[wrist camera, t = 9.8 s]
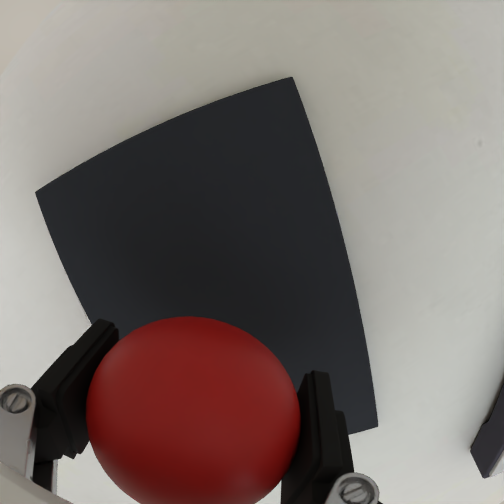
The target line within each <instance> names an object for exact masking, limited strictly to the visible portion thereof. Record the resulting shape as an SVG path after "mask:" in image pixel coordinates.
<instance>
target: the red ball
mask: <svg viewBox="0 0 504 504" xmlns="http://www.w3.org/2000/svg"><path fill="white" fill-rule="evenodd" d="M86 424H87V430H88V436H89V440H90V443H91V445H92V448H93V450H94V453H95V456H96V458H97V459H98V461H99V463H100V464H101V466H102V468H103V469H104V471H105V472H106V474H107V475H108V476H109V477H110V478H111V480H112V481H113V482H114V483H115V484H116V485H117V486H118V487H119V488H120V489H121V490H122V491H123V492H125V493H126V494H127V495H129V496H130V497H131V498H133V499H134V500H136V501H137V502H139V503H140V504H255V503H256V502H258V501H259V500H261V499H262V498H264V497H265V496H266V495H267V494H269V493H270V492H271V491H272V490H273V489H274V488H275V487H276V486H277V485H278V484H279V482H280V481H281V480H282V478H283V477H284V475H285V474H286V473H287V471H288V470H289V468H290V465H291V463H292V461H293V459H294V457H295V454H296V452H297V448H298V444H299V439H300V433H301V413H300V406H299V401H298V397H297V394H296V391H295V388H294V385H293V383H292V381H291V379H290V376H289V375H288V373H287V372H286V370H285V368H284V367H283V365H282V364H281V362H280V361H279V360H278V358H277V357H276V356H275V355H274V354H273V353H272V352H271V351H270V350H269V349H268V348H267V347H266V346H265V345H264V344H262V343H261V342H260V341H259V340H258V339H256V338H255V337H253V336H252V335H250V334H249V333H247V332H245V331H243V330H241V329H240V328H238V327H235V326H233V325H230V324H228V323H225V322H221V321H218V320H215V319H209V318H204V317H193V316H185V317H173V318H167V319H161V320H158V321H155V322H151V323H149V324H146V325H144V326H142V327H140V328H138V329H136V330H134V331H132V332H131V333H129V334H128V335H127V336H125V337H124V338H122V339H121V340H120V341H118V342H117V343H116V344H115V345H114V346H113V347H112V349H111V350H110V351H109V352H108V353H107V354H106V355H105V356H104V358H103V359H102V361H101V362H100V364H99V366H98V367H97V369H96V371H95V373H94V375H93V378H92V380H91V383H90V386H89V390H88V395H87V400H86Z"/></svg>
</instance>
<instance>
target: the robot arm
mask: <svg viewBox="0 0 504 504" xmlns="http://www.w3.org/2000/svg"><path fill="white" fill-rule="evenodd" d="M118 341H119V330H118V328H116V327H115V324H114V323H113V322H110V321H107V320H104V319H101V318H99V319H98V320H96V321H95V323H94V324H93V325H92V326H91V327H90V328H89V329H88V330H87V331H86V332H85V333H84V334H83V335H82V336H81V337H80V338H79V339H78V340H77V342H76V343H75V344H74V345H72V346H69V347H68V348H67V349H66V350H65V351H64V352H63V353H62V354H61V356H60V357H59V358H58V359H57V360H56V361H55V362H54V363H53V364H52V365H51V366H50V368H49V369H48V370H47V371H46V372H45V373H44V374H43V375H42V376H41V377H40V379H39V380H38V381H37V382H36V383H35V384H34V385H33V386H32V388H31V389H30V388H28V387H27V386H24V385H21V384H12V385H8V386H6V387H4V388H2V389H1V390H0V504H73V503H71V502H69V501H67V500H65V499H63V498H61V497H59V496H57V467H58V459H61V457H62V456H63V455H65V456H67V457H69V458H72V459H74V458H75V456H76V454H77V453H78V454H81V453H82V452H83V451H84V449H85V447H86V446H87V444H88V442H89V436H88V430H87V424H86V400H87V395H88V390H89V386H90V383H91V380H92V378H93V375H94V373H95V371H96V369H97V367H98V366H99V364H100V362H101V361H102V359H103V358H104V356H105V355H106V354H107V353H108V352H109V351H110V350H111V349H112V347H113V346H114V345H115V344H116V343H117V342H118ZM297 397H298V401H299V406H300V413H301V433H300V439H299V444H298V448H297V452H296V454H295V457H294V459H293V461H292V463H291V465H290V468H289V470H288V471H287V473H286V474H285V475H284V477H283V478H282V482H281V504H382V503H381V502H379V501H378V500H379V489H378V486H377V485H376V483H375V482H374V481H373V480H372V479H371V478H370V477H368V476H366V475H364V474H361V473H354V467H353V460H352V454H351V448H350V442H349V436H348V431H347V425H346V419H345V415H344V412H343V411H339V410H335V407H334V400H333V394H332V388H331V382H330V377H329V373H328V372H322V371H316V370H312V371H311V373H310V374H308V373H305V375H304V377H303V380H302V382H301V385H300V387H299V390H298V392H297Z"/></svg>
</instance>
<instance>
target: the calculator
mask: <svg viewBox="0 0 504 504" xmlns="http://www.w3.org/2000/svg"><path fill="white" fill-rule="evenodd" d="M470 452H471V454H472V456H473V458H474V461H475V463H476V465H477V467H478V469H479V471H480V473H481V475H482V477H483V478H487V477H493V476H495V475H498V474H500V473H502V472H504V385H503V387H502V390H501V393H500V395H499V398H498V401H497V403H496V406H495V408H494V410H493V413H492V415H491V417H490V420H489V422H487V423H485V424H483V425H482V427H481V429H480V431H479V433H478V436H477V438H476V440H475V442H474V444H473V446H472V448H471V450H470Z"/></svg>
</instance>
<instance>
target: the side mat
mask: <svg viewBox="0 0 504 504" xmlns="http://www.w3.org/2000/svg"><path fill="white" fill-rule="evenodd" d="M35 194H36V197H37V200H38V203H39V205H40V208H41V211H42V214H43V217H44V219H45V222H46V225H47V227H48V230H49V233H50V235H51V238H52V240H53V243H54V245H55V248H56V250H57V252H58V255H59V257H60V260H61V262H62V264H63V266H64V269H65V271H66V273H67V275H68V278H69V280H70V282H71V284H72V286H73V288H74V290H75V292H76V294H77V296H78V298H79V301H80V303H81V305H82V306H83V308H84V310H85V312H86V314H87V316H88V318H89V320H90V322H91V324H92V325H93V324H94V323H95V321H96V320H98V319H99V318H101V319H104V320H107V321H110V322H113V323H114V324H115V327H116V328H118V330H119V341H120V340H121V339H122V338H124V337H125V336H127V335H128V334H129V333H131V332H132V331H134V330H136V329H138V328H140V327H142V326H144V325H146V324H149V323H151V322H155V321H158V320H161V319H167V318H173V317H185V316H193V317H204V318H209V319H215V320H218V321H221V322H225V323H228V324H230V325H233V326H235V327H238V328H240V329H241V330H243V331H245V332H247V333H249V334H250V335H252V336H253V337H255V338H256V339H258V340H259V341H260V342H261V343H262V344H264V345H265V346H266V347H267V348H268V349H269V350H270V351H271V352H272V353H273V354H274V355H275V356H276V357H277V358H278V360H279V361H280V362H281V364H282V365H283V367H284V368H285V370H286V372H287V373H288V375H289V376H290V379H291V381H292V383H293V385H294V388H295V391H296V394H297V392H298V390H299V387H300V385H301V382H302V380H303V377H304V375H305V373H308V374H310V373H311V371H312V370H316V371H322V372H328V373H329V377H330V382H331V388H332V394H333V400H334V407H335V410H339V411H343V412H344V415H345V419H346V425H347V431H348V435H349V434H353V433H357V432H361V431H365V430H368V429H372V428H375V427H378V419H377V411H376V404H375V396H374V389H373V382H372V376H371V369H370V363H369V357H368V351H367V346H366V340H365V335H364V329H363V324H362V319H361V314H360V309H359V304H358V299H357V295H356V290H355V285H354V281H353V276H352V272H351V268H350V264H349V259H348V255H347V251H346V247H345V243H344V239H343V235H342V231H341V227H340V224H339V220H338V216H337V212H336V209H335V205H334V202H333V198H332V194H331V191H330V188H329V184H328V181H327V177H326V174H325V171H324V167H323V164H322V161H321V158H320V155H319V151H318V148H317V145H316V142H315V139H314V136H313V133H312V130H311V127H310V124H309V121H308V118H307V115H306V112H305V110H304V107H303V104H302V101H301V98H300V96H299V93H298V90H297V87H296V85H295V82H294V79H293V77H288V78H285V79H281V80H278V81H275V82H271V83H268V84H265V85H262V86H258V87H255V88H252V89H249V90H246V91H243V92H240V93H237V94H234V95H232V96H229V97H226V98H223V99H221V100H218V101H215V102H212V103H210V104H207V105H205V106H202V107H200V108H197V109H194V110H192V111H190V112H187V113H185V114H182V115H180V116H177V117H175V118H173V119H170V120H168V121H166V122H164V123H161V124H159V125H157V126H155V127H153V128H150V129H148V130H146V131H144V132H142V133H140V134H138V135H136V136H133V137H131V138H129V139H127V140H125V141H123V142H121V143H119V144H117V145H115V146H114V147H112V148H110V149H108V150H106V151H104V152H102V153H100V154H98V155H97V156H95V157H93V158H91V159H89V160H87V161H86V162H84V163H82V164H80V165H79V166H77V167H75V168H73V169H72V170H70V171H68V172H67V173H65V174H63V175H62V176H60V177H58V178H57V179H55V180H53V181H52V182H50V183H49V184H47V185H46V186H44V187H42V188H41V189H39V190H38V191H36V192H35Z"/></svg>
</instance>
